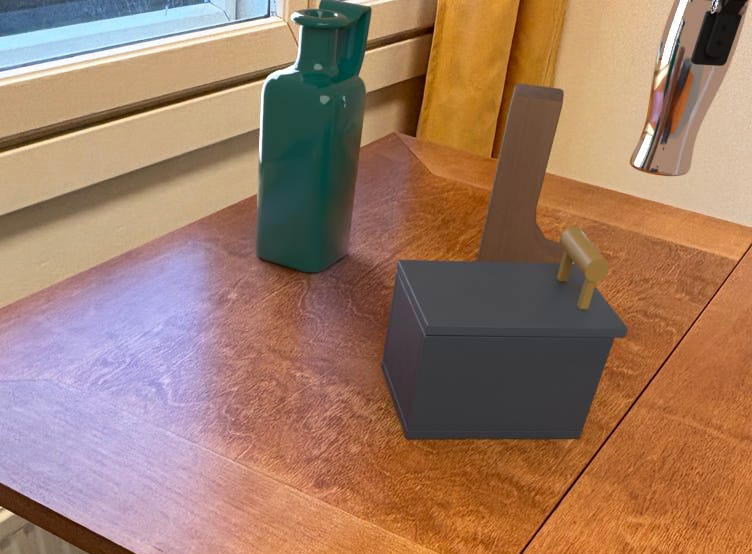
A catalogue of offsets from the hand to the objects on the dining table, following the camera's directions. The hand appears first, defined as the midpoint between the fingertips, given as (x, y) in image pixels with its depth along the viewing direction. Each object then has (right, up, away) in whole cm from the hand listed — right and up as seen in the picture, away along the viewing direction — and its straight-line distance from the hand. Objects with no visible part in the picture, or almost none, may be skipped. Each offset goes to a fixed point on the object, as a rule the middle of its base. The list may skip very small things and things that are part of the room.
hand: (695, 53), depth 86 cm
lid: (-23, -30, -16) cm, 41 cm away
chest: (-24, -37, -10) cm, 45 cm away
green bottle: (-38, -15, +10) cm, 42 cm away
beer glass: (0, -7, +7) cm, 10 cm away
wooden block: (-16, -21, +6) cm, 27 cm away
